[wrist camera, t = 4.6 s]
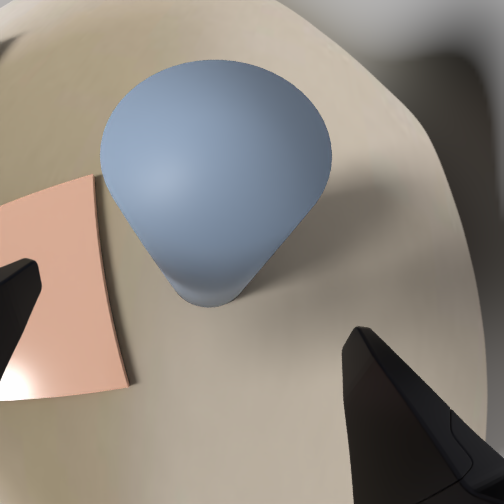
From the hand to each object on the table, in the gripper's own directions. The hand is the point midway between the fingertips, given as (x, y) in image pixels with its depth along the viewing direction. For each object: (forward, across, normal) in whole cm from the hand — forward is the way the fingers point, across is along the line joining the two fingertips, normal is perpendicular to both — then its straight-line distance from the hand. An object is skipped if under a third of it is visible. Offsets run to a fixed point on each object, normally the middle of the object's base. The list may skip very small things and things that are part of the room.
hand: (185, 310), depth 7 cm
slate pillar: (+10, 0, +5) cm, 11 cm away
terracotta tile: (+6, +13, +8) cm, 16 cm away
